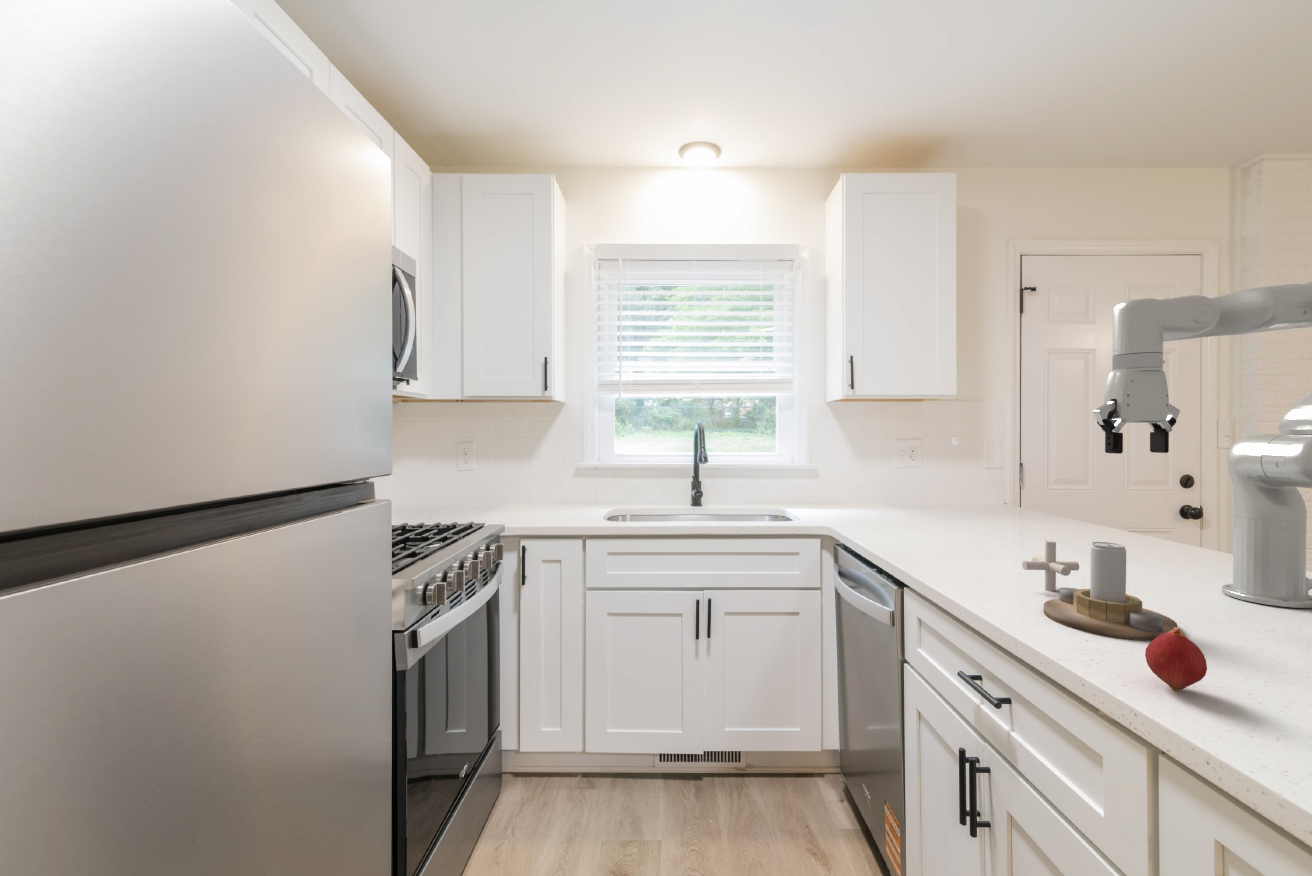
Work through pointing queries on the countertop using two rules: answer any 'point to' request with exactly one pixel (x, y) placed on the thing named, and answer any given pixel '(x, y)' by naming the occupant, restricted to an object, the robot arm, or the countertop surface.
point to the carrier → (1107, 616)
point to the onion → (1176, 659)
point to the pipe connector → (1050, 565)
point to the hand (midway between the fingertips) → (1136, 452)
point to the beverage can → (1108, 572)
